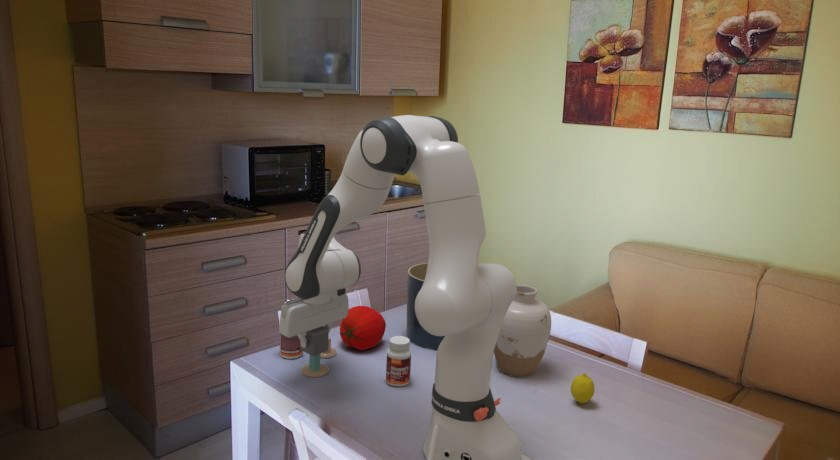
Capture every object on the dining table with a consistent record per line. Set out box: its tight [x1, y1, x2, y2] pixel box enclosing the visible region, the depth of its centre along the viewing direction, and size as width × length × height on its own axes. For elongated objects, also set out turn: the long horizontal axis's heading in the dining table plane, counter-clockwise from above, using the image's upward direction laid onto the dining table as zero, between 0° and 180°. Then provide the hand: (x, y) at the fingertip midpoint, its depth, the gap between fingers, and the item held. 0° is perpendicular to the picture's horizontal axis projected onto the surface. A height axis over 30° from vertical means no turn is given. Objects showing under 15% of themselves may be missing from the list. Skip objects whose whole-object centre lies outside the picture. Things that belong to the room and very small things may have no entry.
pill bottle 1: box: [279, 332, 304, 360], centre depth 165 cm, size 6×6×11 cm
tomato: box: [338, 305, 387, 351], centre depth 173 cm, size 13×13×13 cm
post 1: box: [300, 353, 330, 379], centre depth 156 cm, size 7×7×6 cm
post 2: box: [321, 337, 337, 359], centre depth 167 cm, size 6×6×4 cm
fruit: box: [570, 372, 595, 405], centre depth 146 cm, size 6×6×8 cm
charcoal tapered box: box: [300, 326, 330, 356], centre depth 155 cm, size 5×5×6 cm
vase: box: [493, 284, 552, 378], centre depth 161 cm, size 16×16×23 cm
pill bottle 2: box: [385, 335, 412, 387], centre depth 153 cm, size 6×6×11 cm
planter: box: [405, 262, 445, 351], centre depth 181 cm, size 22×22×20 cm
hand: (314, 342), depth 155 cm, fingers closed on charcoal tapered box, 5 cm apart
